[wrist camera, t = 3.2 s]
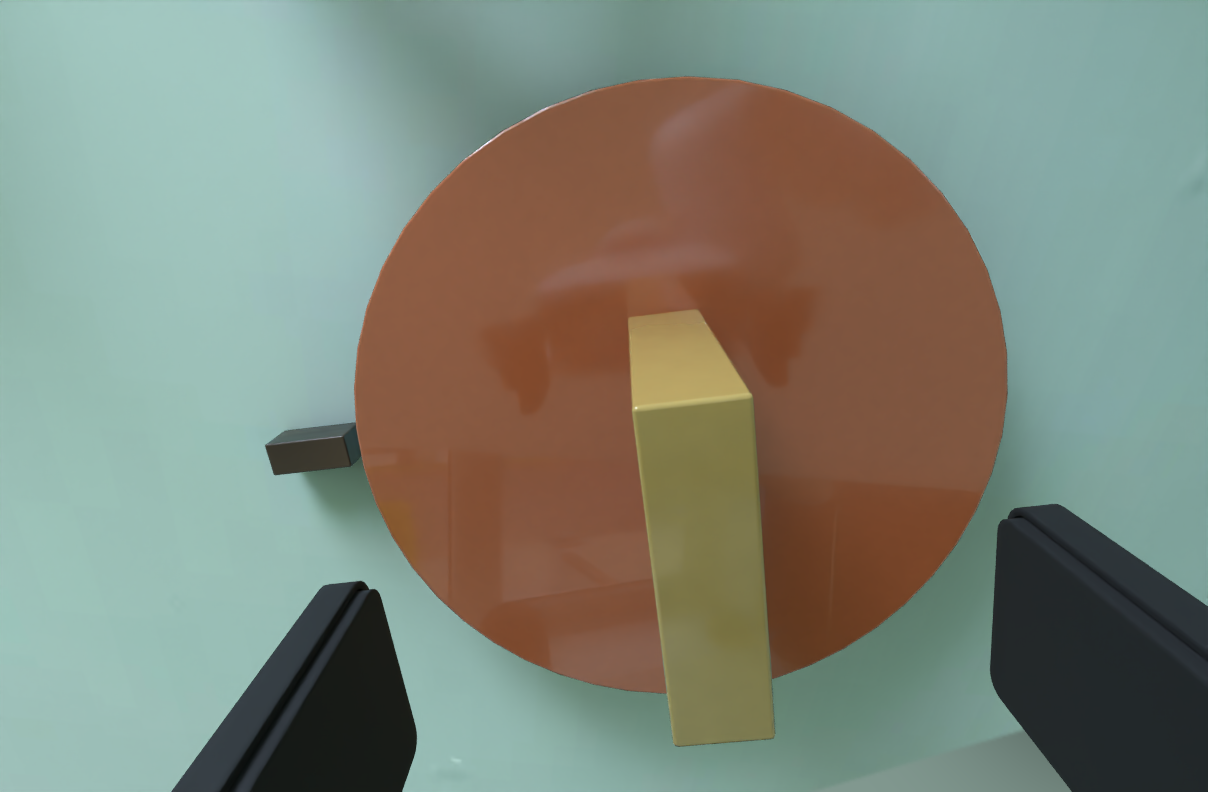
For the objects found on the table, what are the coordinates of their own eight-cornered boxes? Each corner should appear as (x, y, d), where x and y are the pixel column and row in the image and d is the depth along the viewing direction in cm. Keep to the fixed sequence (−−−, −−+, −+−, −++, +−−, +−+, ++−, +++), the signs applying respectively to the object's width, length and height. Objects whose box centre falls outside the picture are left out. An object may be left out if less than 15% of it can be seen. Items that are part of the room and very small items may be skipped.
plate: (1012, 28, 15) (1402, -129, 7) (980, 652, 20) (1191, 926, 12) (288, 135, 16) (-1, 91, 8) (434, 700, 21) (333, 978, 14)
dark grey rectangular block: (833, 207, 18) (852, 209, 16) (840, 530, 21) (858, 558, 19) (240, 285, 19) (207, 294, 17) (329, 582, 22) (307, 612, 20)
